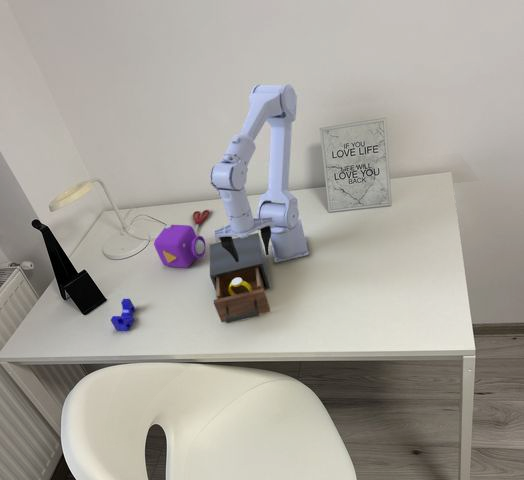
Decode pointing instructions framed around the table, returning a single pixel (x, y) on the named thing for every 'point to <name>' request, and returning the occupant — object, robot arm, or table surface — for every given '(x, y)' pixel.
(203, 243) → the toy camera
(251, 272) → the drawer
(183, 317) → the table surface
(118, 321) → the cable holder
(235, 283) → the watch
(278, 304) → the table surface
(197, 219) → the scissors
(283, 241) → the robot arm
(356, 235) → the table surface
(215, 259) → the cabinet
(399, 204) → the table surface
